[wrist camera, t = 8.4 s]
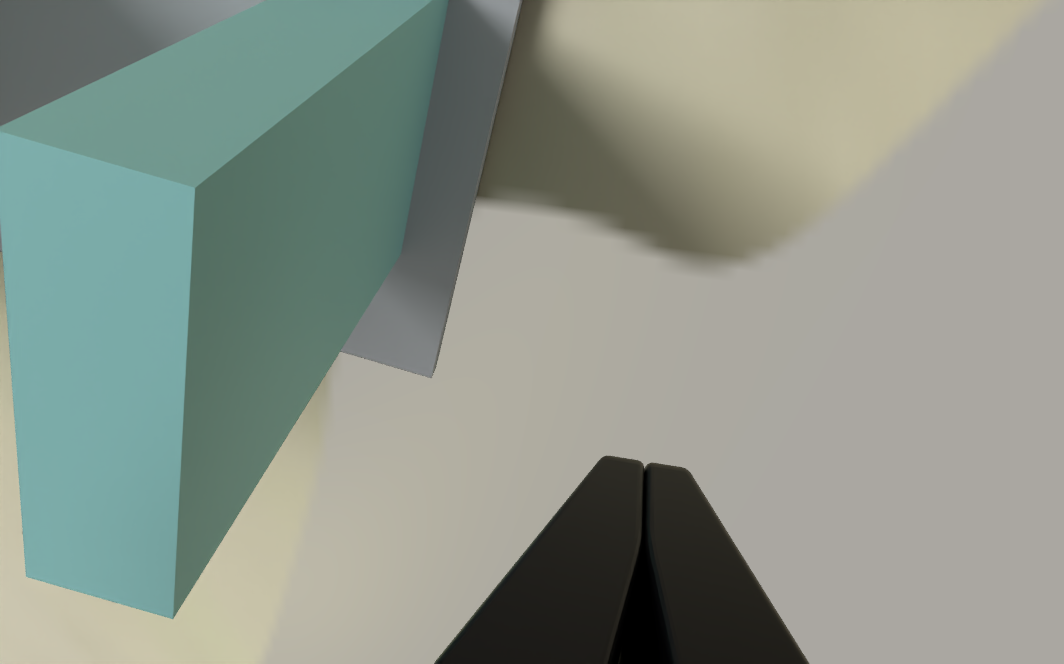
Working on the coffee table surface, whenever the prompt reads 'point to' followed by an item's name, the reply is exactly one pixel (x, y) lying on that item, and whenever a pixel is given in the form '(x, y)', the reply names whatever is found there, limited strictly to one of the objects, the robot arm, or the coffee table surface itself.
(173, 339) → the domino
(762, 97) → the coffee table surface
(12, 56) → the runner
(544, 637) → the robot arm
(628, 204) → the coffee table surface
